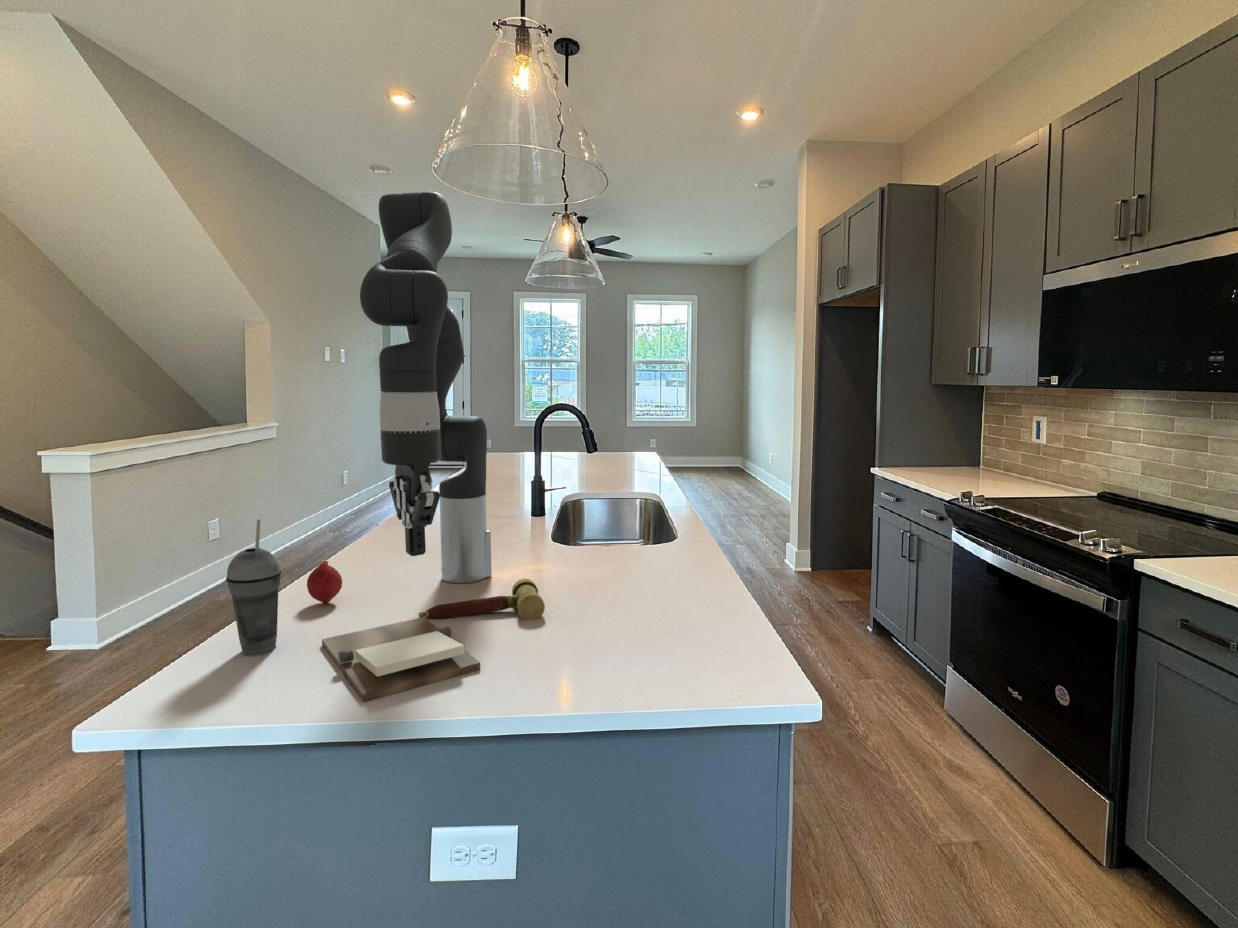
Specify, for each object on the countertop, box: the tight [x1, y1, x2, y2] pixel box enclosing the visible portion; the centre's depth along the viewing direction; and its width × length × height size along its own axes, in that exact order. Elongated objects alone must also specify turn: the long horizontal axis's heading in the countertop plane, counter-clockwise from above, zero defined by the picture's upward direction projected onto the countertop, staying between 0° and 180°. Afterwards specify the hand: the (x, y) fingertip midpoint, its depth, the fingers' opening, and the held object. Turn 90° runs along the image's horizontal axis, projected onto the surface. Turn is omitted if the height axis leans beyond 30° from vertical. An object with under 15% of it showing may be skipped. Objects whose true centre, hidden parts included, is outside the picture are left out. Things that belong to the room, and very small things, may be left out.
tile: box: [355, 631, 465, 677], centre depth 92 cm, size 12×10×1 cm
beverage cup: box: [225, 518, 282, 657], centre depth 97 cm, size 7×7×20 cm
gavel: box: [418, 578, 546, 621], centre depth 114 cm, size 21×5×10 cm
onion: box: [306, 559, 343, 604], centre depth 118 cm, size 6×6×8 cm
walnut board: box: [321, 617, 481, 703], centre depth 96 cm, size 16×22×3 cm
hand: (415, 553), depth 88 cm, fingers closed
